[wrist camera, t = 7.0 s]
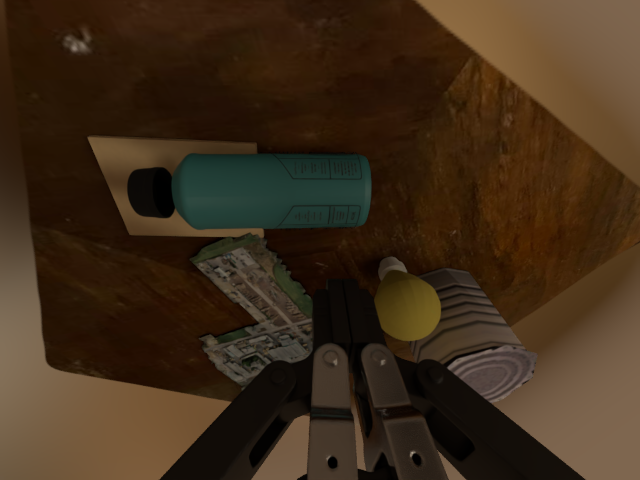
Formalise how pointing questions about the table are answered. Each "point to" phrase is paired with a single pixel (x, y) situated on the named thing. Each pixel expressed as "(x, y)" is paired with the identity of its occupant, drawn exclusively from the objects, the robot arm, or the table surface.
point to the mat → (139, 153)
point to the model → (256, 308)
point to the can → (473, 338)
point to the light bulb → (405, 302)
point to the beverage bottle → (257, 190)
